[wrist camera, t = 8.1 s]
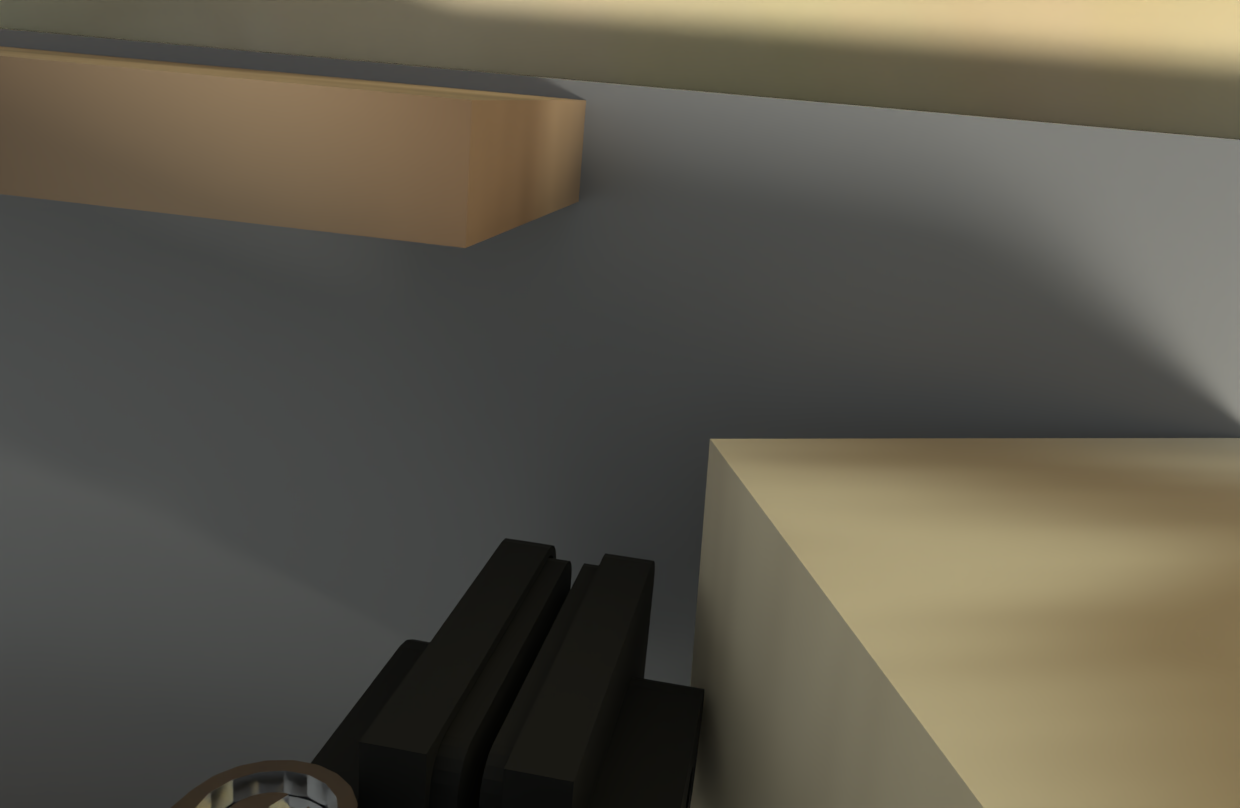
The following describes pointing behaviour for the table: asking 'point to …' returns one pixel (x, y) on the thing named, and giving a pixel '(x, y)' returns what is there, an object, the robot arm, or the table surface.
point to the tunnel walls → (285, 147)
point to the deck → (533, 388)
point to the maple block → (969, 623)
